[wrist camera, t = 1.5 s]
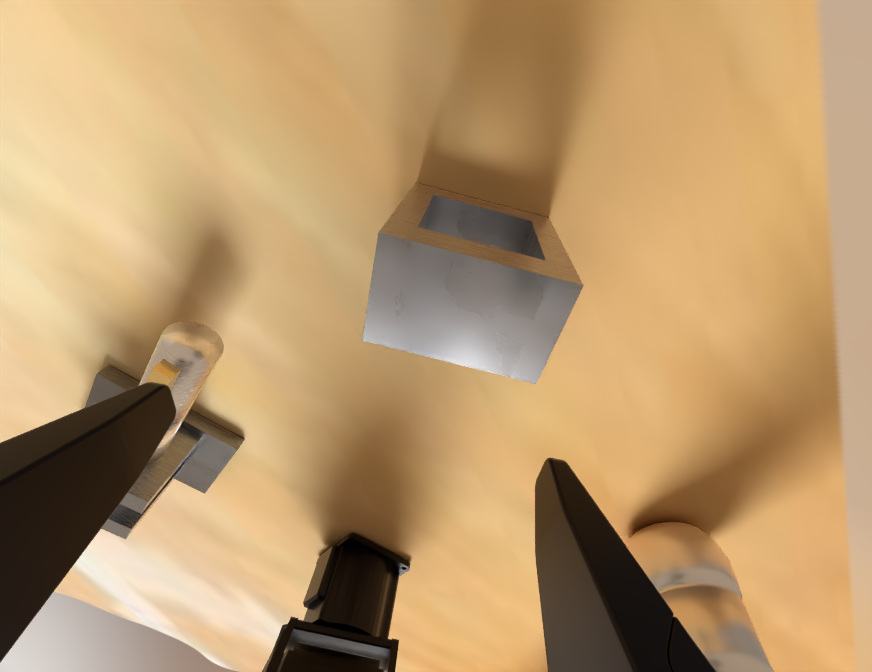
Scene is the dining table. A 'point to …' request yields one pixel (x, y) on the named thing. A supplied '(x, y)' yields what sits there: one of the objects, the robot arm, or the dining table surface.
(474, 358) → the hollow rectangular metal block
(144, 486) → the shaft stand
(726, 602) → the plastic bottle
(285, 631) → the robot arm
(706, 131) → the dining table surface
